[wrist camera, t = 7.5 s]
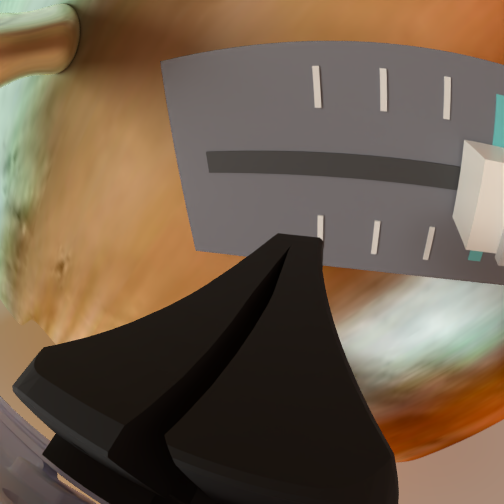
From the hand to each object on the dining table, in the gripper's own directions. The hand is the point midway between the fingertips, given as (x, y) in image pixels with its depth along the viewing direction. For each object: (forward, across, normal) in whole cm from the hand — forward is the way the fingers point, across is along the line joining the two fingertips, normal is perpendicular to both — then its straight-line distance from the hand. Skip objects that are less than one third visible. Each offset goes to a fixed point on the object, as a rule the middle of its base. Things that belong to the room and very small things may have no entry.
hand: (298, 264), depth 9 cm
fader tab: (+7, -9, -1) cm, 11 cm away
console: (+9, -3, -1) cm, 10 cm away
